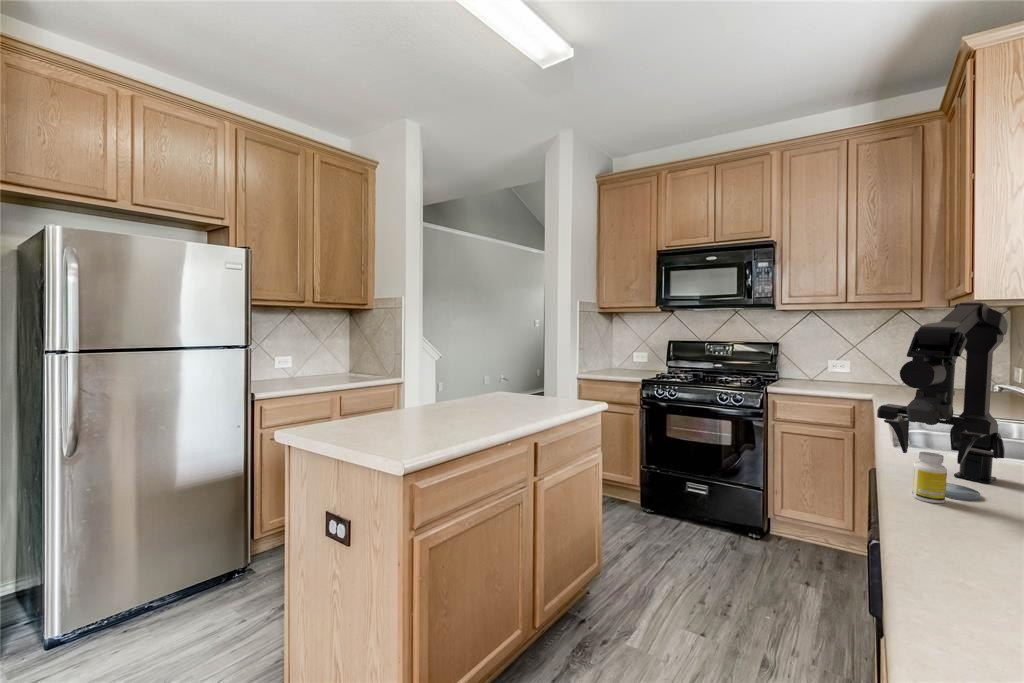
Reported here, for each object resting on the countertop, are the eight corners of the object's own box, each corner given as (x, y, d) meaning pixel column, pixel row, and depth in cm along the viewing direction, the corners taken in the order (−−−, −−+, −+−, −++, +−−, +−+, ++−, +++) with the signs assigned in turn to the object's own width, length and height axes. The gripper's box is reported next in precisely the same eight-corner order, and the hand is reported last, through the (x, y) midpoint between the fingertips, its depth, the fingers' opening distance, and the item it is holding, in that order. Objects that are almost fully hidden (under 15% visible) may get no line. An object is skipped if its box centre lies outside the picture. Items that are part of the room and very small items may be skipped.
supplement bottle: (951, 505, 103) (954, 458, 102) (921, 502, 104) (924, 456, 103) (934, 495, 108) (937, 451, 107) (906, 493, 109) (909, 449, 108)
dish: (933, 483, 116) (933, 478, 116) (985, 495, 109) (985, 490, 109) (919, 490, 111) (919, 485, 111) (972, 503, 104) (973, 498, 104)
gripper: (868, 382, 108) (864, 453, 109) (983, 394, 92) (978, 476, 93) (889, 379, 114) (885, 446, 115) (1000, 390, 99) (995, 467, 99)
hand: (931, 458), depth 105 cm, fingers open, 9 cm apart
